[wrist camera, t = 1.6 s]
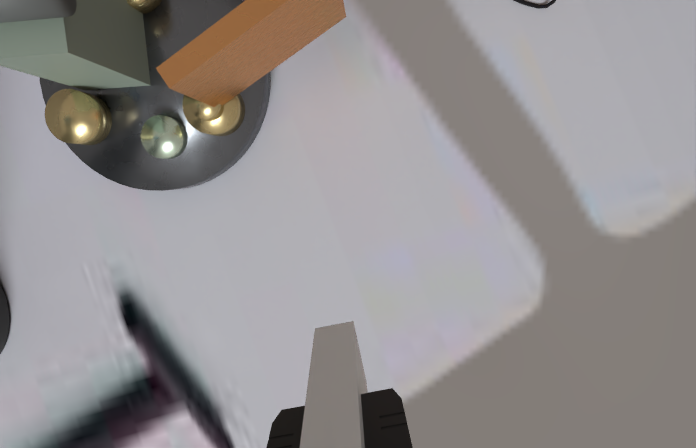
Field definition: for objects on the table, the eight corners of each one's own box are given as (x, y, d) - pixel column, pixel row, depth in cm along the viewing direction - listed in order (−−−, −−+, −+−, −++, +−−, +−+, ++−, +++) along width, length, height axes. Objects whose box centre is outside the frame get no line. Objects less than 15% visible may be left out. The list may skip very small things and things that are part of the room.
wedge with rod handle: (73, 91, 34) (-87, 46, 22) (64, 18, 33) (-108, -68, 21) (161, 84, 33) (45, 35, 21) (153, 10, 32) (28, -83, 21)
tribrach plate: (73, 194, 37) (37, 197, 33) (42, -29, 34) (-1, -56, 31) (278, 184, 35) (266, 185, 31) (261, -51, 33) (245, -82, 29)
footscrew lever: (213, 146, 33) (148, 135, 23) (184, 102, 33) (106, 72, 23) (358, 44, 31) (351, -13, 22) (328, -4, 31) (307, -82, 21)
